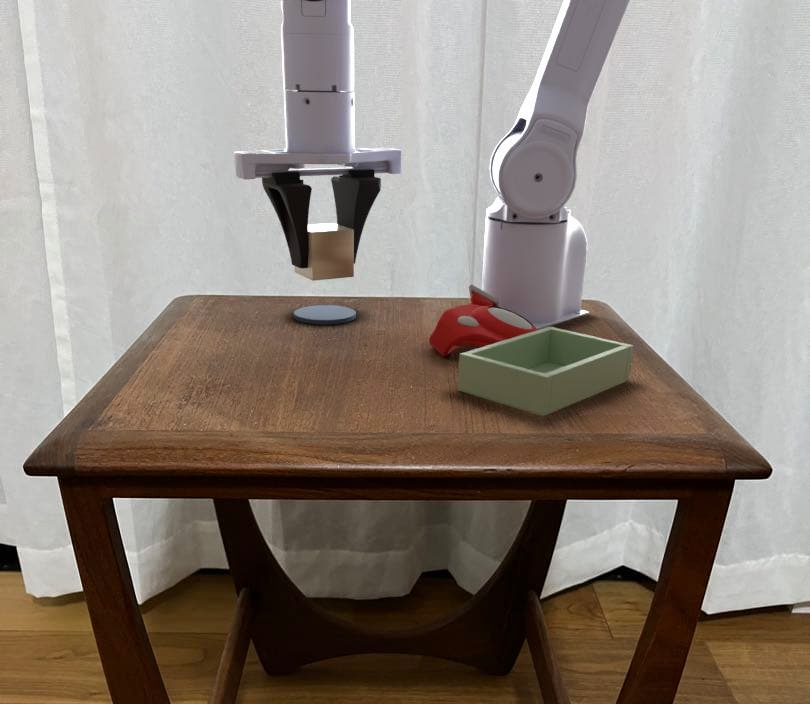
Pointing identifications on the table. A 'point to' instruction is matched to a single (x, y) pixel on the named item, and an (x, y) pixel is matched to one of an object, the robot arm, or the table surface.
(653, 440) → the table surface
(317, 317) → the pad
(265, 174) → the robot arm
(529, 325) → the red curved piece
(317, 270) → the block
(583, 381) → the tray
